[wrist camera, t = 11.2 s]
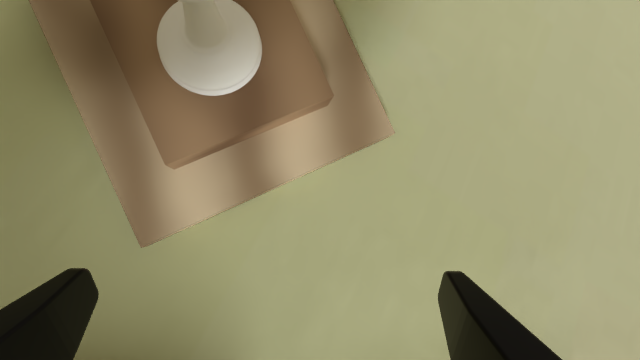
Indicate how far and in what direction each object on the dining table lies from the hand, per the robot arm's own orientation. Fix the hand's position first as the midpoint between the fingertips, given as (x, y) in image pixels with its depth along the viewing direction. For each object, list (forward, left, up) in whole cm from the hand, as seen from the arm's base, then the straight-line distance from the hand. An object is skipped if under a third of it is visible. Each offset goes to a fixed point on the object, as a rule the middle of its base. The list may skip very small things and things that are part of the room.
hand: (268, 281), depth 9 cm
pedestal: (+2, +10, -11) cm, 15 cm away
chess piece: (+2, +10, -8) cm, 13 cm away
